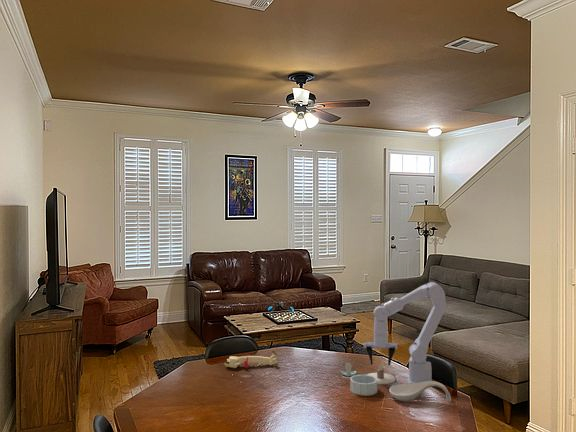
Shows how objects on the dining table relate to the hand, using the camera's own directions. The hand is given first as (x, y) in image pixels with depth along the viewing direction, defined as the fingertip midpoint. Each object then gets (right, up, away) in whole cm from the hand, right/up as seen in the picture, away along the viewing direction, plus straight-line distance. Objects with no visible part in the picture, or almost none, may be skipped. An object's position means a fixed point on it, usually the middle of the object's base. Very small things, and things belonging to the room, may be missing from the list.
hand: (380, 364), depth 207 cm
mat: (0, -7, 0) cm, 7 cm away
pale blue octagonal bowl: (-9, -7, -13) cm, 18 cm away
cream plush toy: (-59, -7, +19) cm, 62 cm away
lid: (0, -7, 0) cm, 7 cm away
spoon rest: (+11, -8, -21) cm, 25 cm away
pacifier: (-13, -7, +4) cm, 16 cm away
